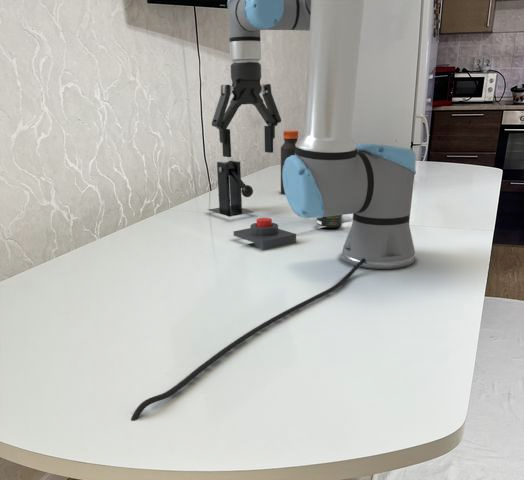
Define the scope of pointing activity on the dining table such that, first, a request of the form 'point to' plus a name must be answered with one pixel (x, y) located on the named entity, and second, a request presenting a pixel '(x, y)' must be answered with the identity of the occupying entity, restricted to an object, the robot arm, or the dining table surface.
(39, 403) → the dining table surface
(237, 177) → the switch lever
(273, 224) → the dark grey base plate
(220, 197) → the lever switch
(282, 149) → the bottle
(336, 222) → the supplement container
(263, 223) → the button
